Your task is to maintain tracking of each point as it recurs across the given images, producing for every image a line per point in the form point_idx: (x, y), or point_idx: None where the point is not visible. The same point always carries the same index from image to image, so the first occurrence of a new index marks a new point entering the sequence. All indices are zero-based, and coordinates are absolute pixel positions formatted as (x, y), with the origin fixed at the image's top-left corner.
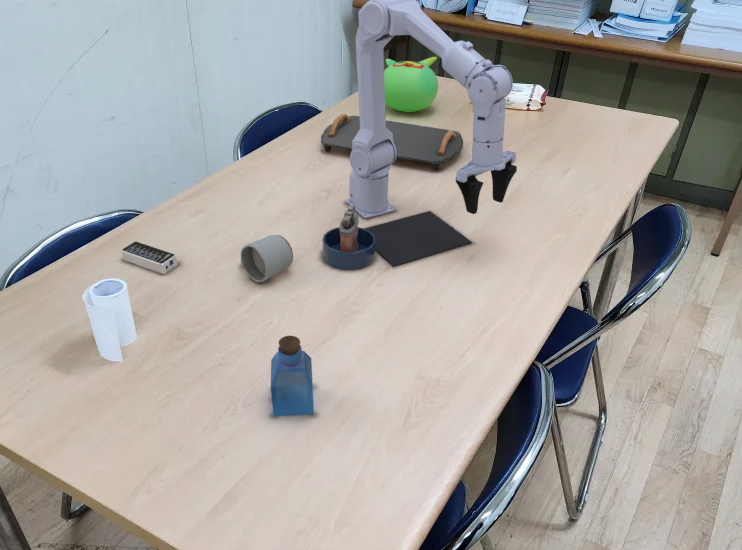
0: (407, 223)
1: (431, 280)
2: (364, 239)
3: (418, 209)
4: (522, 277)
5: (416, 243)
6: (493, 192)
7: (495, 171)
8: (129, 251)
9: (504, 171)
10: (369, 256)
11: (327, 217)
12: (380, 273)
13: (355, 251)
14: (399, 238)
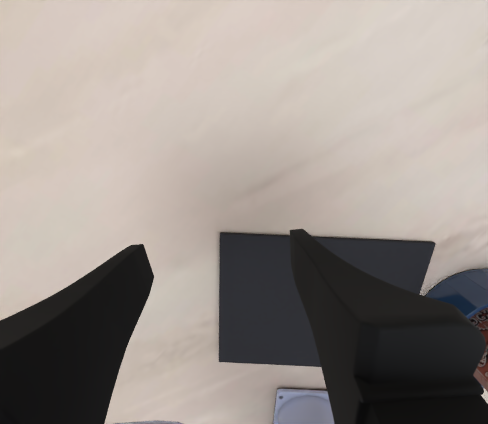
0: (290, 347)
1: (410, 155)
2: None
3: (231, 374)
4: (208, 38)
5: None
6: (142, 302)
7: (84, 412)
8: None
9: (33, 386)
10: (483, 283)
11: None
12: (473, 235)
13: (476, 313)
14: None
